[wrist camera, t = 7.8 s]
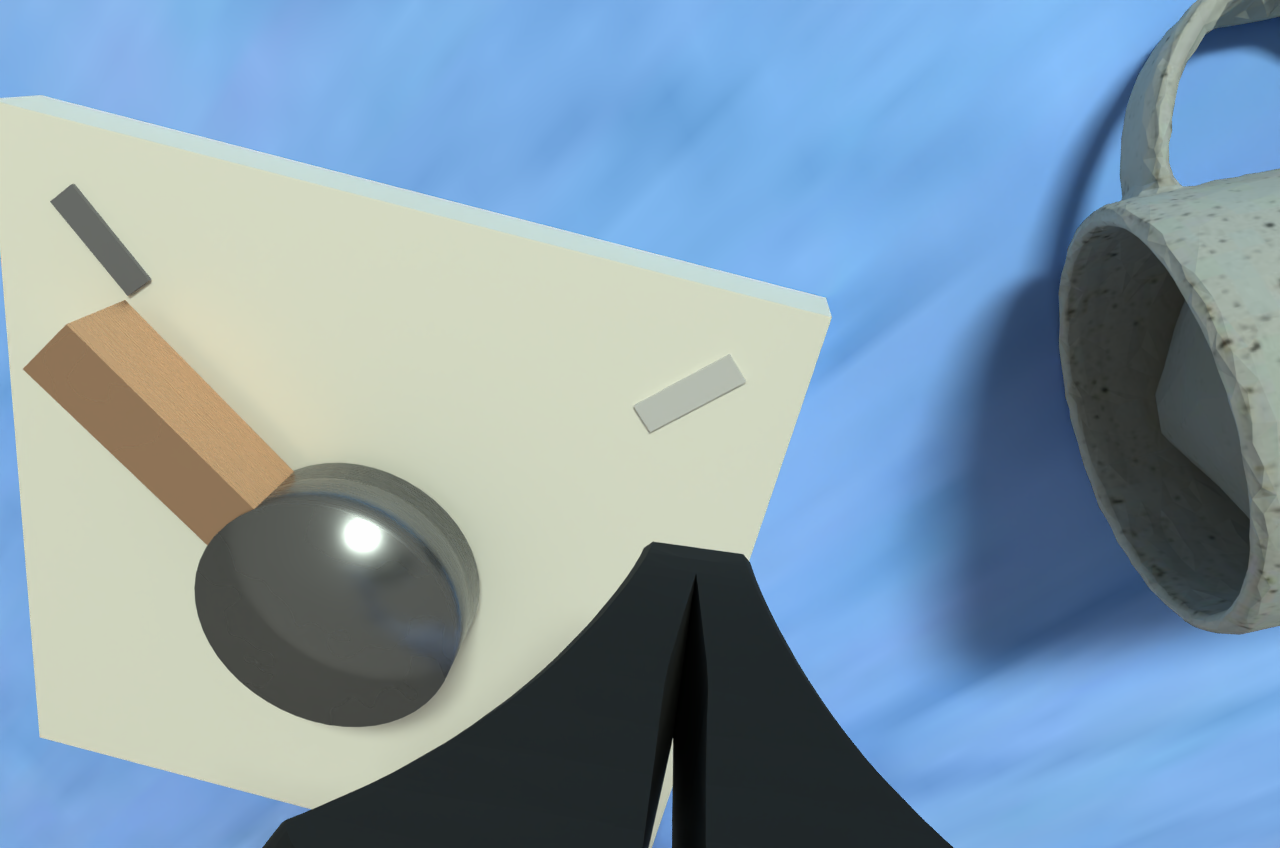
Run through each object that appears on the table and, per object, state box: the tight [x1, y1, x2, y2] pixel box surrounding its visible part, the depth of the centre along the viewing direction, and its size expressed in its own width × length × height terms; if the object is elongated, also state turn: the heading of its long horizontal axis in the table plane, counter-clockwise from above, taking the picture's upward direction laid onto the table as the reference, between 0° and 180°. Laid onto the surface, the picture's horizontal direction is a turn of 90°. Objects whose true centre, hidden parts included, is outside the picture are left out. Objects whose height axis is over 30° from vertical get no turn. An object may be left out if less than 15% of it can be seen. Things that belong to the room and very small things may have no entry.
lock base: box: [0, 95, 832, 848], centre depth 22 cm, size 18×18×2 cm
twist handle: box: [23, 300, 480, 727], centre depth 20 cm, size 11×6×2 cm, turn 39°
